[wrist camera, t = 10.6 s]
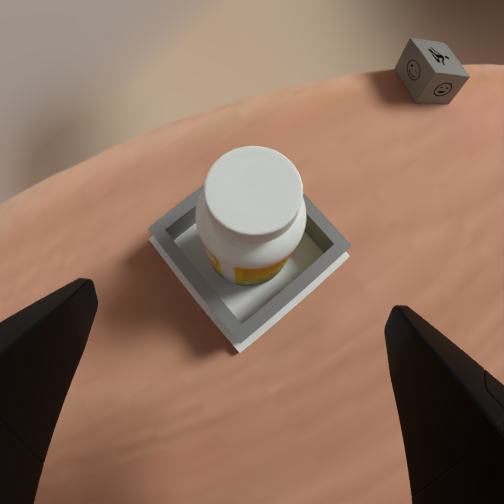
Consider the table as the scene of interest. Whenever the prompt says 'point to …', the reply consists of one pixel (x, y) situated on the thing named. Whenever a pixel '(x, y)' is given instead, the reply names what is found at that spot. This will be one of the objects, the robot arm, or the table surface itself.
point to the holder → (254, 297)
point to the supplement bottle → (251, 214)
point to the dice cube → (430, 72)
